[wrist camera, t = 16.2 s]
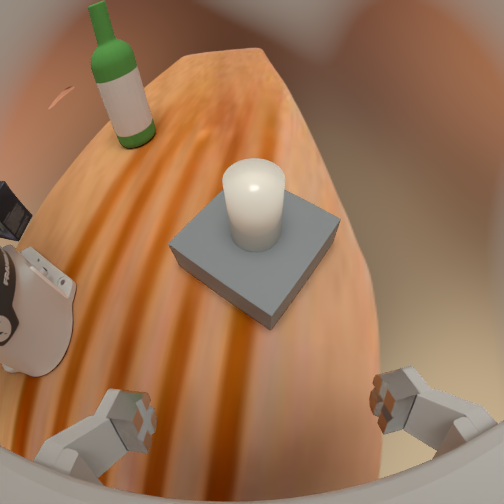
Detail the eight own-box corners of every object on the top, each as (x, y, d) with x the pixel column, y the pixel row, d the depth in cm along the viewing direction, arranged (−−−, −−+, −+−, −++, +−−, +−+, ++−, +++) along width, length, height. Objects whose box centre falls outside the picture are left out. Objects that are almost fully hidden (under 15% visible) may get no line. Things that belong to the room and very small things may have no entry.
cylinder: (220, 234, 32) (209, 183, 25) (251, 203, 34) (248, 151, 27) (260, 261, 30) (260, 212, 23) (290, 226, 32) (296, 174, 25)
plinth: (179, 265, 36) (168, 243, 31) (246, 195, 41) (244, 170, 37) (270, 330, 31) (271, 316, 27) (332, 242, 36) (340, 219, 32)
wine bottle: (157, 123, 53) (123, -7, 28) (156, 144, 49) (114, -3, 24) (123, 133, 53) (81, 9, 27) (118, 154, 49) (66, 16, 23)
